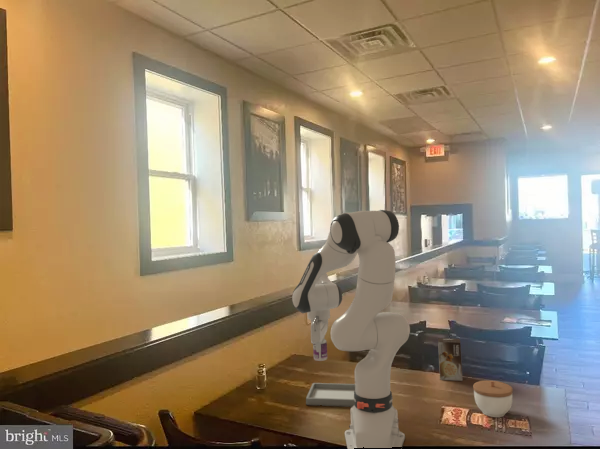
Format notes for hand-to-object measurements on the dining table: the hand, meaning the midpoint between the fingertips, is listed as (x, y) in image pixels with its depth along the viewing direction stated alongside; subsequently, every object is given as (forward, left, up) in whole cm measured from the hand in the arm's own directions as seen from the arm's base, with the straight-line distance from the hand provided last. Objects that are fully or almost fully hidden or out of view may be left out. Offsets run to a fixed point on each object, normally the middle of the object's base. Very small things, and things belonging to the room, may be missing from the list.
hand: (320, 349), depth 180 cm
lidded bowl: (-8, -61, -19) cm, 65 cm away
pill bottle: (0, 0, -4) cm, 4 cm away
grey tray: (0, -6, -19) cm, 20 cm away
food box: (+25, -51, -19) cm, 60 cm away
